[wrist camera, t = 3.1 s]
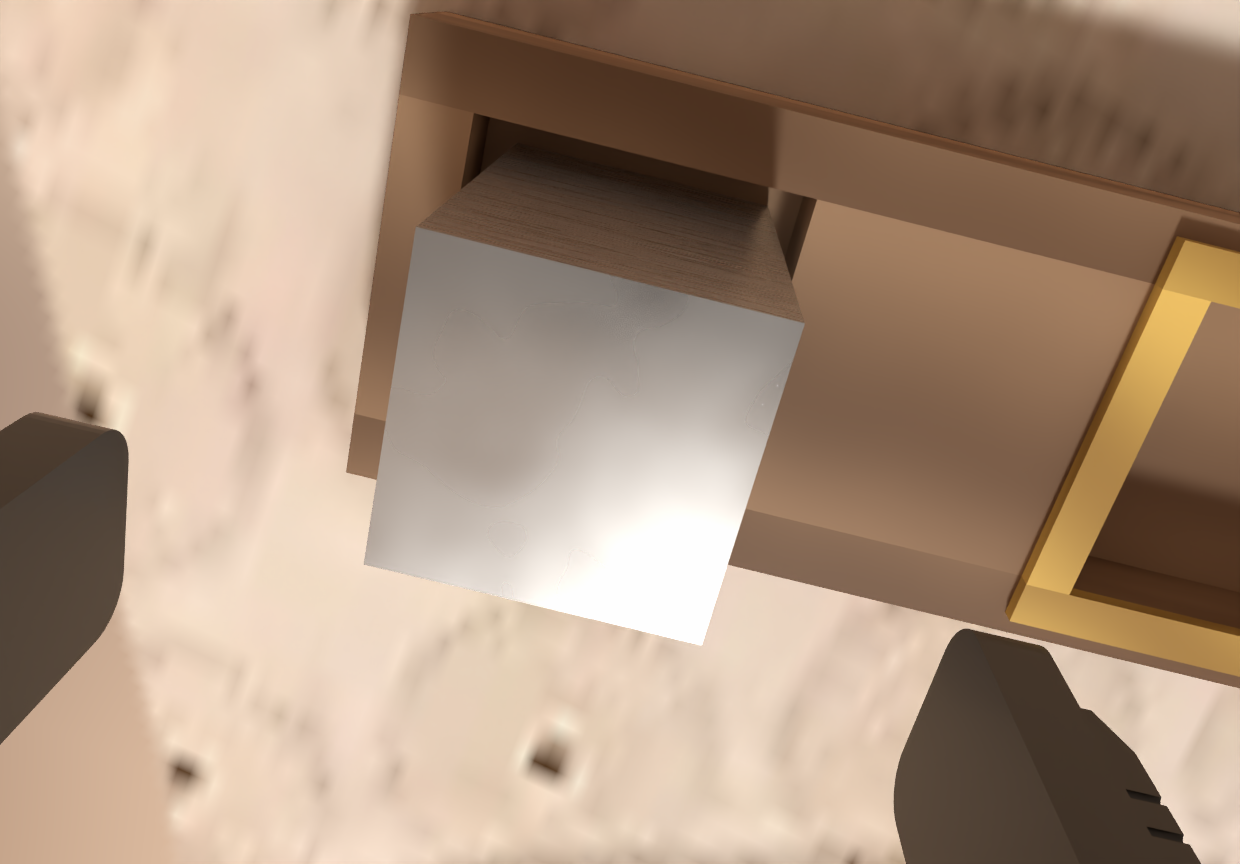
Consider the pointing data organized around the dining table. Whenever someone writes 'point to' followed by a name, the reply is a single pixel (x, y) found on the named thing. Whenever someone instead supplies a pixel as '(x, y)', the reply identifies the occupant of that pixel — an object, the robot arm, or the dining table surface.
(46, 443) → the robot arm
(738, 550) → the rail
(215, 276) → the dining table surface
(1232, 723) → the dining table surface
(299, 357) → the dining table surface
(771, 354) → the block
